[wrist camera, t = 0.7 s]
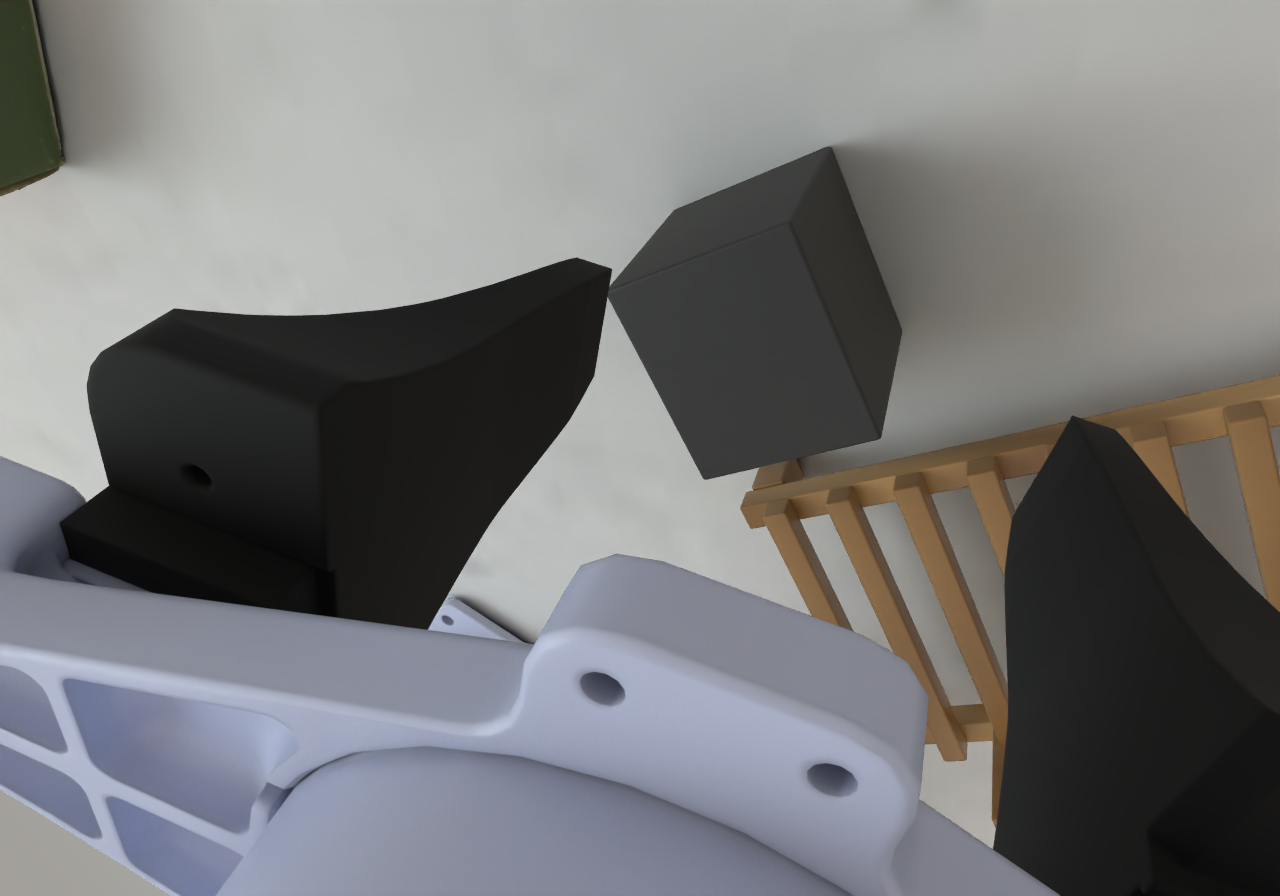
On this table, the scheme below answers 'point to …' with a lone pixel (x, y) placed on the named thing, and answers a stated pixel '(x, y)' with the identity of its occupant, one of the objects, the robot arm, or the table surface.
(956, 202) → the table surface
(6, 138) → the carton
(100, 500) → the robot arm
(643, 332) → the black box
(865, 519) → the dish rack
